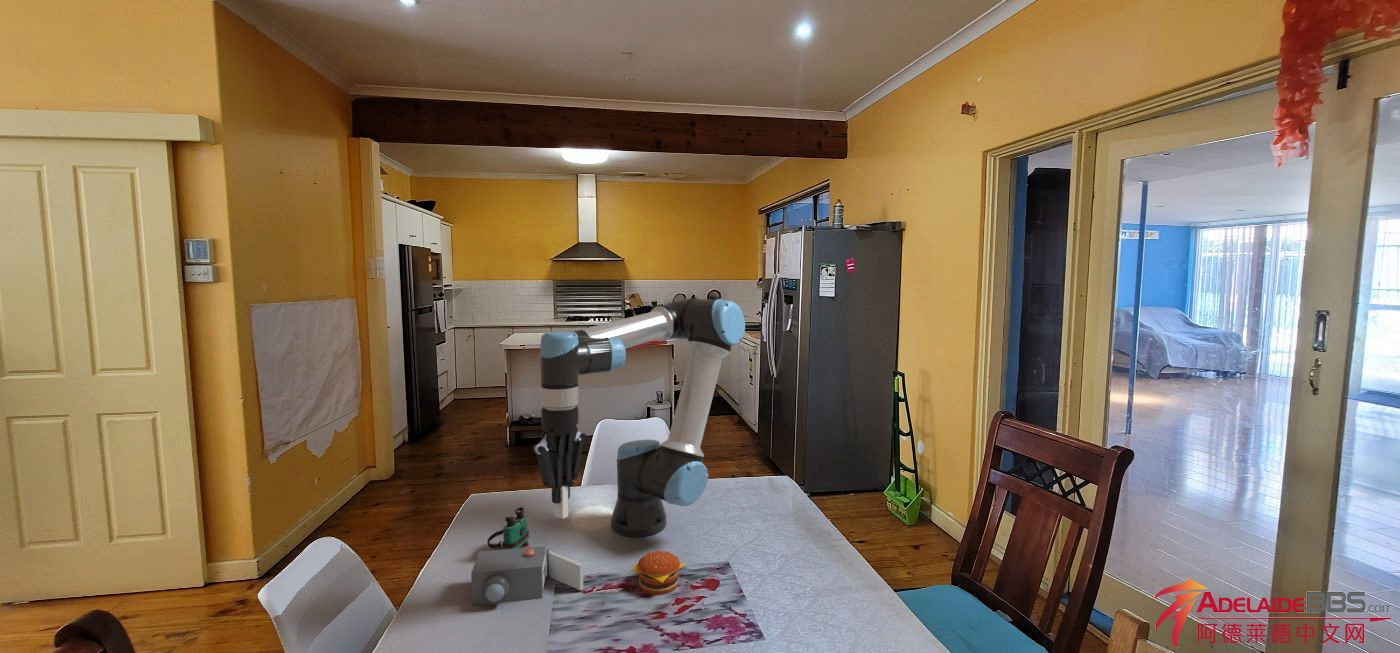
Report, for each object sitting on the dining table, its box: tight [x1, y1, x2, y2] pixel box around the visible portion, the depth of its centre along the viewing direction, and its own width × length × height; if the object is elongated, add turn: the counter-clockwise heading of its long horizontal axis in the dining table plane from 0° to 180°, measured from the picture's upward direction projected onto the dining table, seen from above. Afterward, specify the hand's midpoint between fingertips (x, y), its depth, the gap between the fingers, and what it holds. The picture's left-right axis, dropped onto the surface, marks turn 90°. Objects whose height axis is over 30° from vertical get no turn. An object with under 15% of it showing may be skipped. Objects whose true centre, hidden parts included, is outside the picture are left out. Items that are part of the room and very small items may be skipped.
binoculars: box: [486, 506, 531, 550], centre depth 137 cm, size 9×11×10 cm
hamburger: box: [631, 550, 687, 595], centre depth 124 cm, size 9×10×7 cm
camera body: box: [470, 545, 547, 605], centre depth 120 cm, size 14×12×8 cm
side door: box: [545, 548, 584, 591], centre depth 124 cm, size 1×11×6 cm, turn 55°
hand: (561, 515), depth 118 cm, fingers closed
